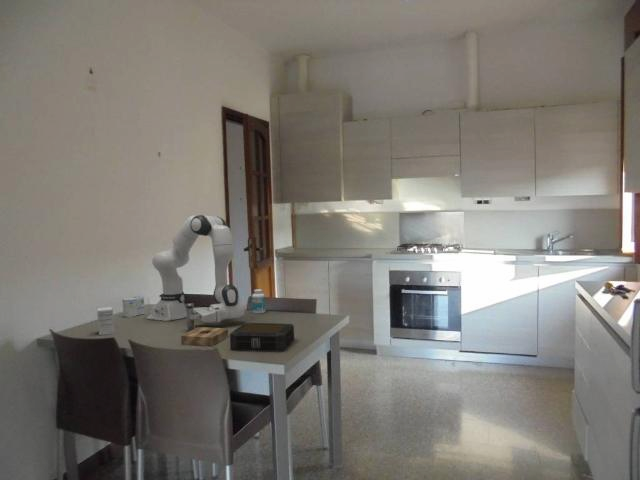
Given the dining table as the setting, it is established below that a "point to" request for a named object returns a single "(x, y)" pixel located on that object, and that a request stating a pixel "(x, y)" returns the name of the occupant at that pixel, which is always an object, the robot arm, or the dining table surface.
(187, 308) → the steel pin
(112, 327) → the supplement box
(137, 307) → the light bulb box
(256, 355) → the dining table surface
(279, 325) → the cash box
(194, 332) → the block
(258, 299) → the pill bottle
